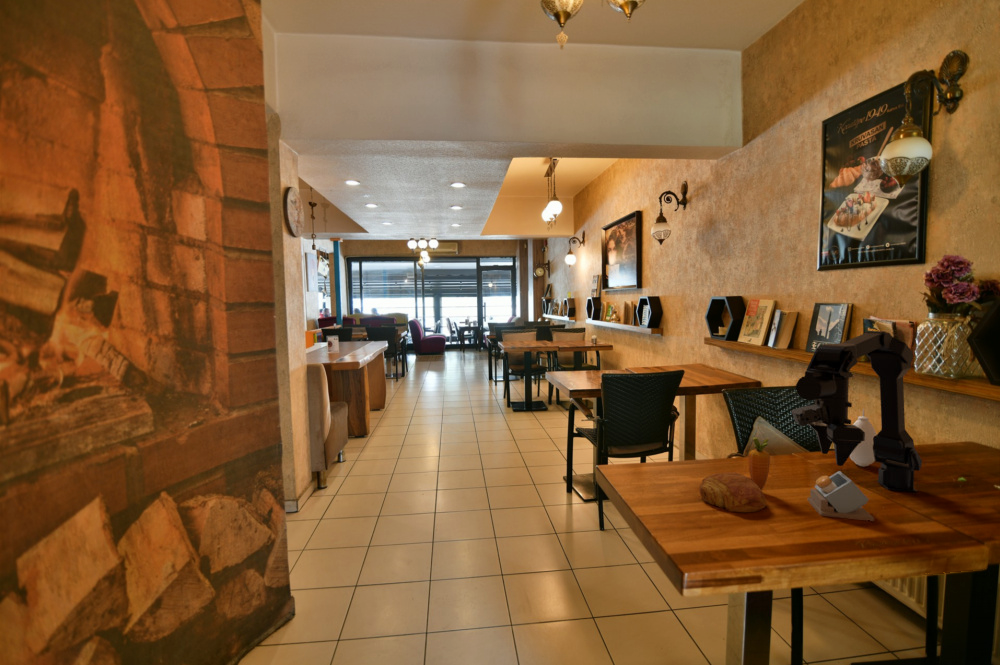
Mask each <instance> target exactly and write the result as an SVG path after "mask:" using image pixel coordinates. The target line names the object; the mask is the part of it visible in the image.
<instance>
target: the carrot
mask: <svg viewBox="0 0 1000 665" xmlns="http://www.w3.org/2000/svg"><path fill="white" fill-rule="evenodd" d="M752 440H753V442H754V445H753V447H754V448H755V449H752V450H750V451H749V453H748V471H749V475H750V476H749V477H750V479H752V480H753V482H754V483H755V484H756V485H757V486H758V487H759V488H760V489H761V490H762V491H763V489H764V487H765V485H766V483H767V481H768V477H769V472H770V465H771V455H770V453H769V452H767V451H765V450H764V448H765V447H767V446H768V442H769V439H768V438H765V440H764V441H763V443H762V444H761V442H760V440H759V438H757V437H756V436H755V437H753V438H752Z"/></svg>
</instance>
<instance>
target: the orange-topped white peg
mask: <svg viewBox="0 0 1000 665" xmlns="http://www.w3.org/2000/svg"><path fill="white" fill-rule="evenodd" d="M829 477H830V476H829V475H821V476H820V477H818V478H816V481H815V485H818V486H819V487H820V488H821V489H822V490H823V491H824V492H825V493H826V494H828V493H829V492H831V491H833V490H834V489H836V488H838V487H837V486H836V485H835V483H834V482H833V481H832V480H831V479H830V478H829Z"/></svg>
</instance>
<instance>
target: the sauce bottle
mask: <svg viewBox="0 0 1000 665" xmlns="http://www.w3.org/2000/svg"><path fill="white" fill-rule="evenodd" d="M852 425H855V426H857V427H858V428H860V429H861V430H862V431H864V432H865V441H861V443H859V444H858V445H857V447H856V448H855V449H854V450H853V452H852V453H851V454H850V456H849V458H850V460H851V461H852V462H854V463H855V464H856V465H857V466H859V467H863V468H865V467H868V466H869V467H870V465H871V464H873V463H874V462H875V458H874V453H873V444H874V443H873V438H874V436H876V435H877V434H878V433H877V432H876V429H875V428H874V426H873V425H872V422H870V420H869V417H868V416H865V409H864V408H863V409H862V416H861V415H860V416H858V417H857V420H855V422H854V423H853V424H852Z"/></svg>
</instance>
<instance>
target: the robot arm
mask: <svg viewBox="0 0 1000 665" xmlns="http://www.w3.org/2000/svg"><path fill="white" fill-rule="evenodd" d="M863 356H867V358H868V359H869V360H870V367H871V369H872V370H873V372H874V373H875V374H876V375H877V377H878V378H879V391H880V392H879V397H880V421H881V422H880V424H881V427H880V428H881V429H880V430H879V432H878V433H876V434H877V435H876V436H874V438H873V443H874V444H873V453H874V458H875V461H874V462H876V463H880V467H879V468H878V478H877V481H876V482H877V483H878V484H880V485H881V486H882V487H884V488H886V489H887V490H888V491H897V492H898V491H899V492H908V493H909V492H911V493H918V490H917V489H916V488H914V484H915V472H916V471H917V472H918V471H921V467H922V464H923V460H922V458H921V457H920V455H919V453H918V451H917V450H916V448H915V444H914V439H913V438H912V436H911V435H910V434H909V432H908V431H907V430H906V424H905V423H906V422H905V420H906V419H905V418H906V417H905V396H904V395H905V394H904V393H905V390H904V389H905V388H904V377H905V375H906V374H907V373H908V371H910V370H911V369H912V362H913V360H914V352H913V350H912V349H911V348H910V347H909V345H908V344H907V343H905V342H903V341H902V340H899V339H898V338H895V337H893V336H892V334H891V333H889V332H887V331H882V330H868V331H865V332H863V334H860V335H858V336H855V337H853V338H850V339H848V340H846V341H843V342H838V343H825V344H824V343H823V344H820V345H818V346H817V348H816V349H815V351H814V353H813V354H812V357H811V359H810V361H809V363H808V365H807V368H806V370H805V372H804V375H803V376H802V377H800V378H798V380H797V381H796V384H795V390H796V392H797V394H798V395H799V397H800V398H802V399H804V400H806V401H814V404H810V405H805V406H801V407H798V408H793V409H792V410H791V414H792V416H793V420H794V422H795V424H797V425H799V426H800V427H804V426H807V425H808V426H809V427H810V428H811V429H813V430H814V431H815V433H816V437H817V442H818V444H819V447H820V451H821V453H822V455H828V453H829V452H830V449H831V447H832V444H833V449H834V455H835V462H836V465H837V466H838V467H843V466H844V465H845V463H846V461H847V460H848V459H849V458H850V454H851V453H852V452H853V450H854V449H855V448H856V447H857V445H858V444H859V443H861V441H865V432H864V431H862V430H861V429H860V428H858V427H857V426H855V425H853V424H852V419H850V418H848V417H849V408H852V403H853V402H851V401H849V387H850V386H849V384H850V381H849V380H850V378H853V376H854V374H853V373H852V372H851V369H852V368H853V367H854V366H856V365H857V364H858V358H861V357H863Z"/></svg>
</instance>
